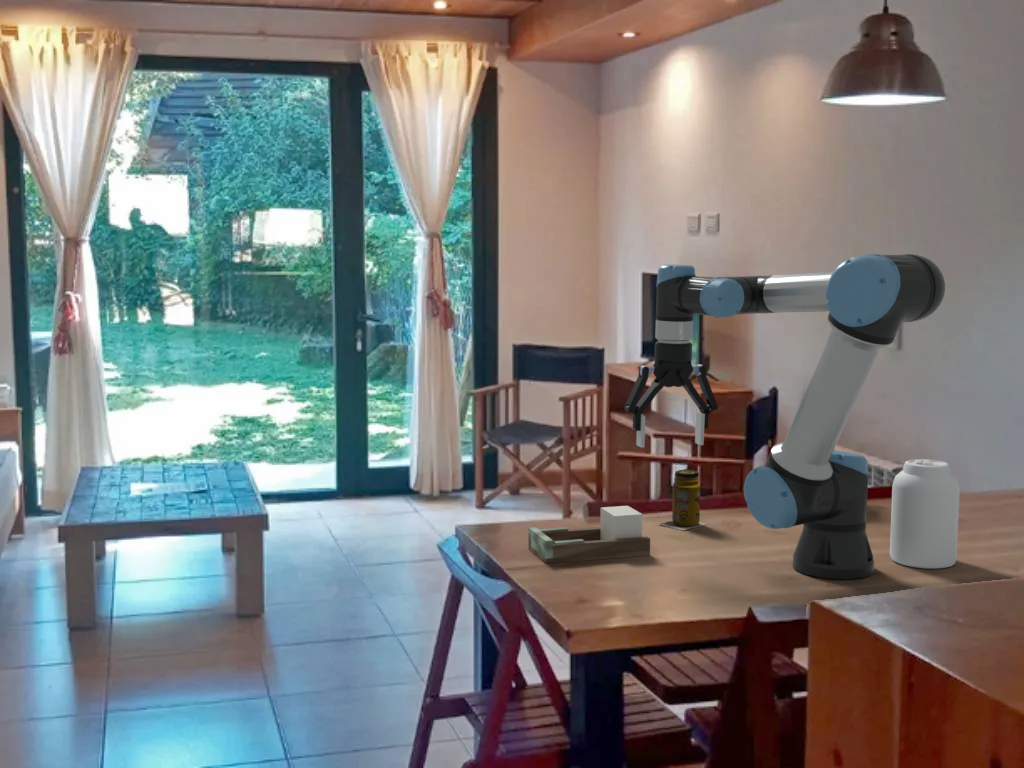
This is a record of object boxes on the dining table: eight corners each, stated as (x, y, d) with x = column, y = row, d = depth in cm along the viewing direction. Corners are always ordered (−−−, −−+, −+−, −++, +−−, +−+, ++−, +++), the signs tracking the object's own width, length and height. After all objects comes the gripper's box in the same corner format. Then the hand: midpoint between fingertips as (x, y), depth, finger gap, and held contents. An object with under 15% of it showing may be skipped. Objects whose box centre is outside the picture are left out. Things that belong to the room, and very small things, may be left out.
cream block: (641, 548, 242) (642, 514, 241) (614, 550, 240) (614, 516, 239) (627, 538, 250) (627, 505, 249) (600, 540, 248) (600, 507, 247)
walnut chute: (649, 555, 241) (650, 533, 240) (545, 563, 235) (545, 541, 234) (628, 541, 252) (628, 520, 251) (528, 548, 246) (528, 527, 245)
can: (876, 556, 240) (880, 458, 237) (927, 550, 244) (931, 454, 242) (918, 572, 228) (922, 469, 226) (970, 566, 232) (975, 465, 230)
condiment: (707, 524, 266) (708, 471, 265) (684, 531, 261) (684, 477, 259) (681, 519, 272) (682, 467, 270) (657, 525, 266) (658, 472, 264)
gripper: (721, 338, 249) (717, 439, 252) (610, 339, 243) (607, 443, 246) (737, 342, 242) (732, 446, 245) (623, 344, 236) (620, 450, 239)
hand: (670, 445), depth 246 cm, fingers open, 12 cm apart
